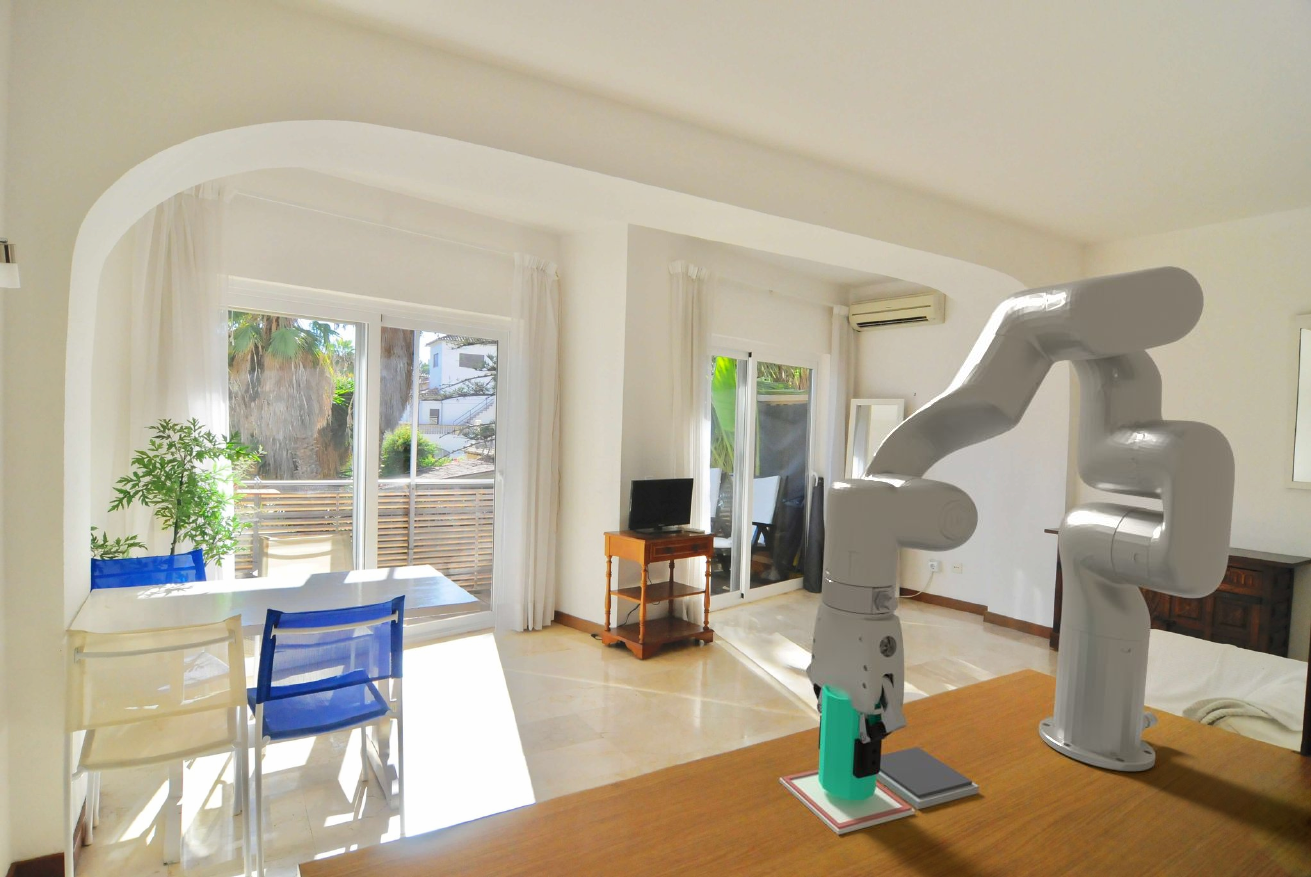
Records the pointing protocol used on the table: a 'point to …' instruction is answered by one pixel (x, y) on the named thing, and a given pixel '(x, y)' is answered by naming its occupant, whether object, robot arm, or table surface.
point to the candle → (841, 749)
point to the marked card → (845, 804)
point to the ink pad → (922, 778)
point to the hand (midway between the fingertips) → (848, 759)
